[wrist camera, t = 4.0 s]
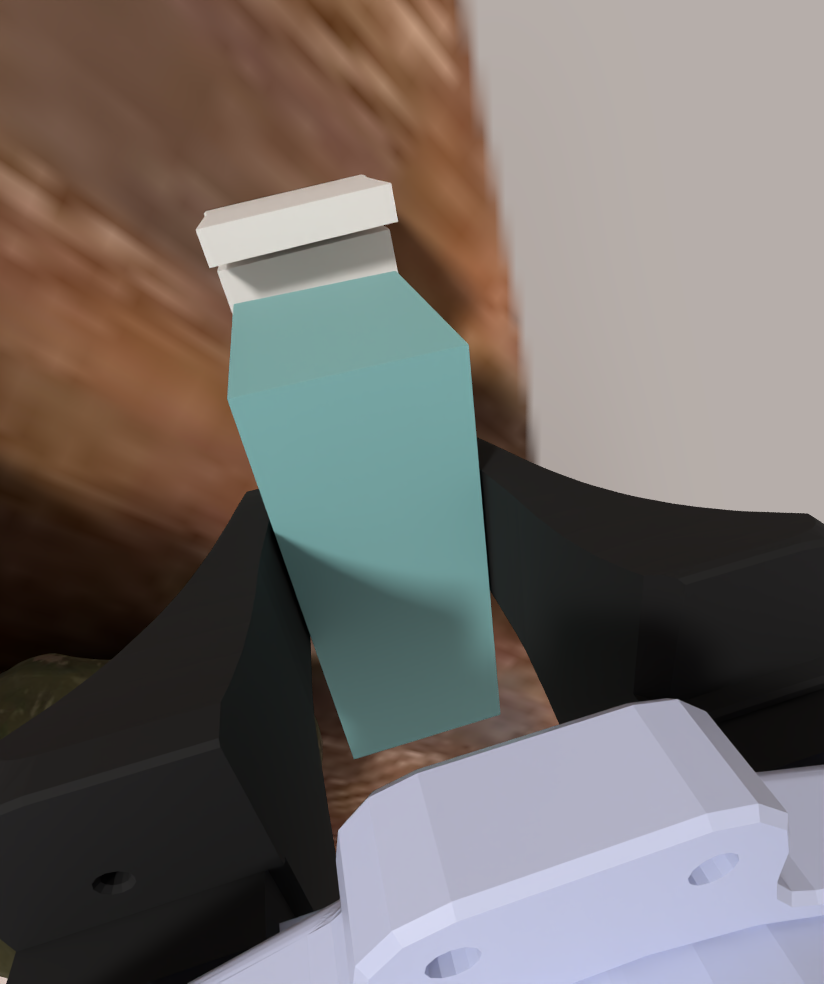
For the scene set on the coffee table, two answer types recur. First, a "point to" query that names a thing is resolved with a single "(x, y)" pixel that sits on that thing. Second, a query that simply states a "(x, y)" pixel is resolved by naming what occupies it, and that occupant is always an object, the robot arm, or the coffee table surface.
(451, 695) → the teal block
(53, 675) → the decorative rock
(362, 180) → the stand
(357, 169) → the coffee table surface
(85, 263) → the coffee table surface
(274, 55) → the coffee table surface
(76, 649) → the coffee table surface
